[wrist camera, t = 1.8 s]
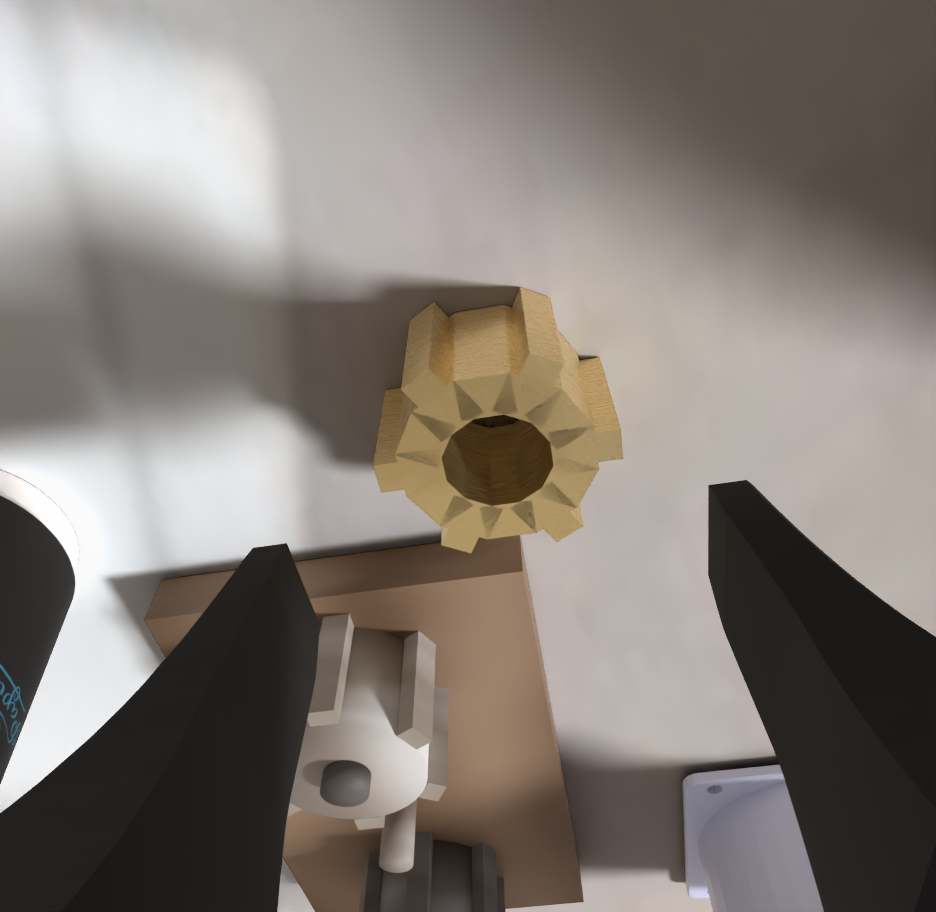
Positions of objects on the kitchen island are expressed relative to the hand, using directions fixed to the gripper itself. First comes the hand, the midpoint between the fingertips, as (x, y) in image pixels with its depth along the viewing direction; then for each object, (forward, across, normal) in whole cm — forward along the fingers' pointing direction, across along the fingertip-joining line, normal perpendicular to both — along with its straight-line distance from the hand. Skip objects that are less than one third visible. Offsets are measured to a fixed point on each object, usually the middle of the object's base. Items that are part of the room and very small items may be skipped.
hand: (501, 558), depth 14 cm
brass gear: (+6, 0, 0) cm, 6 cm away
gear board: (+6, +5, +13) cm, 15 cm away
